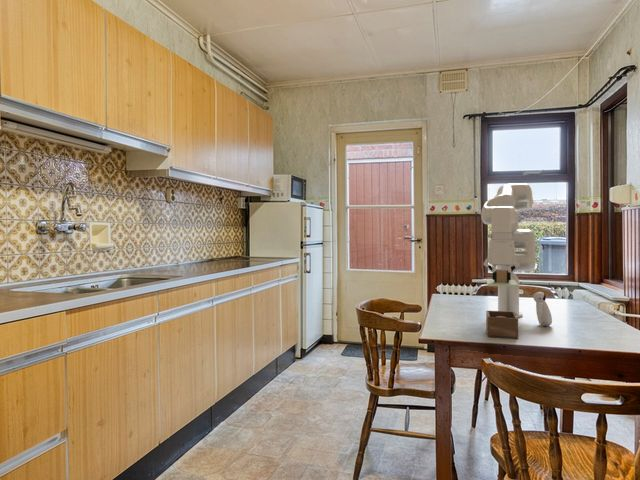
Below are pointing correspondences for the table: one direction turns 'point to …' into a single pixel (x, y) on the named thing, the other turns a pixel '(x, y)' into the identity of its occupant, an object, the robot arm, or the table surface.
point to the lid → (501, 280)
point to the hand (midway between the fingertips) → (501, 281)
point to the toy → (542, 309)
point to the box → (502, 324)
